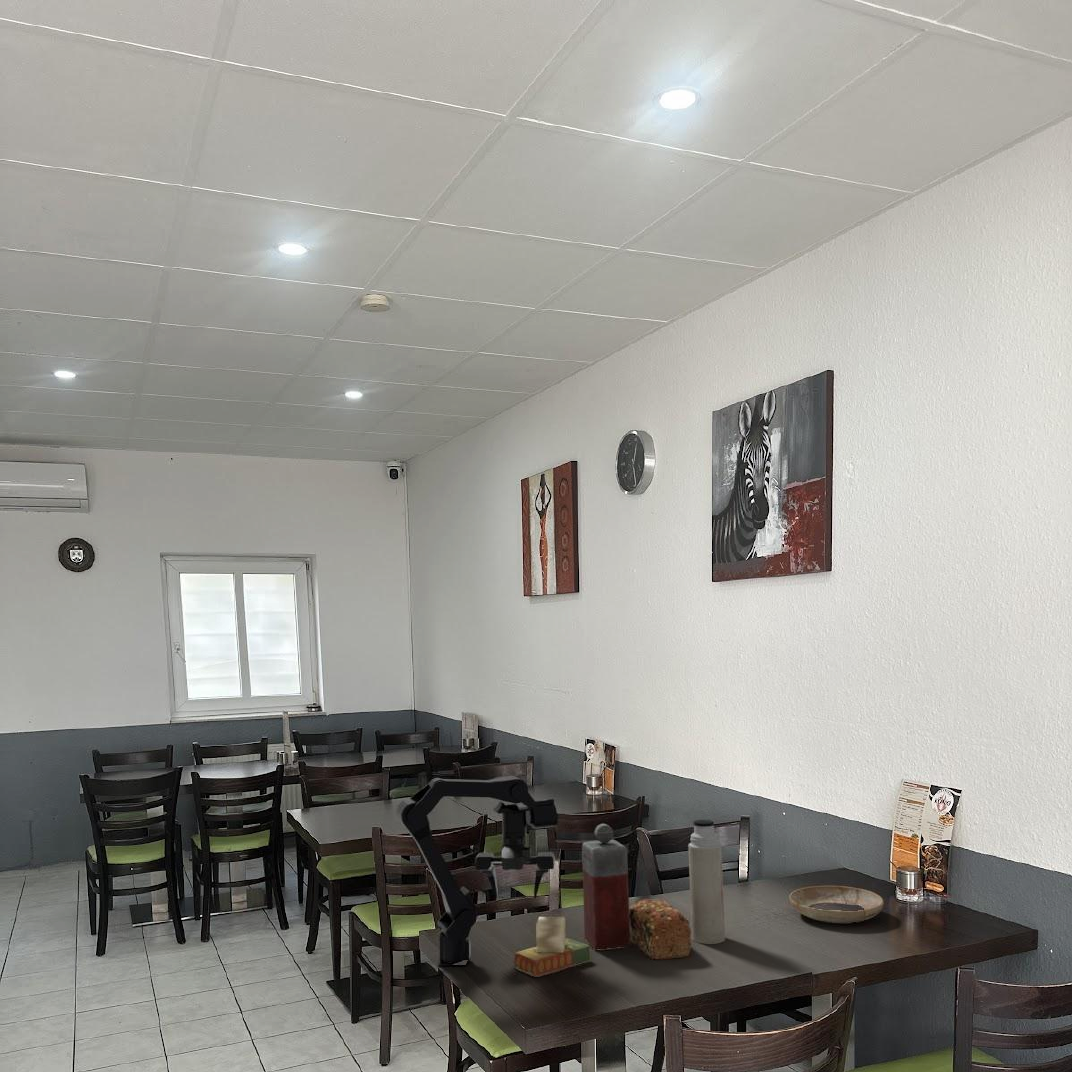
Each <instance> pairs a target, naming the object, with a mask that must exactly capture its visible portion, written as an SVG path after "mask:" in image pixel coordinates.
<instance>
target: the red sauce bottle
mask: <svg viewBox="0 0 1072 1072" xmlns="http://www.w3.org/2000/svg"><path fill="white" fill-rule="evenodd" d="M594 837H595V839H596V840H593V841H592V840H590V841H584V842H582V845H581V853H582V857H581V859H582V860H581V861H582V886H583V888H582V889H583V890H582V891H583V893H582V894H583V899H582V900H583V925H584V926H583V928H584V929H583V930H584V940H585V939H586V940H587V941H588V943H589V944H590V945H591V946H592V947H593V948H594V949H595V950H597V949H607V948H617V947H628V948H631V939H630V922H629V907H630V901H629V900H630V898H629V896H630V894H629V867H628V848H627V847H626V846H625V845H624V844H621V843H620V842H619V841H617V840H615V839H613V837H614V830H613V828H612V827H611V826H609V824H606V823H600V824H598V825H596V827H595V829H594ZM588 943H587V944H588ZM589 944H588V945H589ZM590 945H589V946H590ZM591 946H590V947H591ZM592 947H591V948H592ZM593 948H592V949H593ZM594 949H593V950H594Z"/></svg>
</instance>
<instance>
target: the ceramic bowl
mask: <svg viewBox="0 0 1072 1072" xmlns="http://www.w3.org/2000/svg"><path fill="white" fill-rule="evenodd" d="M788 900H789V902H790V904H791V905H792V907H793V909H795V910H796V911H797V912H799V913H800V914H802V915H803V916H806V917H807V918H810V919H812V920H815V921H820V922H825V923H830V922H831V923H832V924H853V923H852V922H856V923H860V921H861V922H865V921H867V920H869V919H872V918H874V917H876V916H878V914H880V912H881V911H882V910H883V908H884V899H883V897H882V896H880V895H879V894H877V893H875V892H873V891H870V890H867V889H863V888H857V887H851V886H841V885H816V886H807V887H806V886H805V887H802V888H798V889H795V890H794V891H792V892H791V893H790V894H789V899H788ZM830 903H831V904H834V903H835V904H836V903H837V904H844V905H845V904H846V905H859V906H861V907H862V908H864V910H858V911H841V910H822V909H815V908H813V906H815V905H826V904H830ZM864 920H865V921H864Z"/></svg>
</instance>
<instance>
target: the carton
mask: <svg viewBox="0 0 1072 1072" xmlns="http://www.w3.org/2000/svg"><path fill="white" fill-rule="evenodd" d="M513 959H514V960H513V966H515V967H518V968H519V969H521V970H523V971H526V972H530V973H532V974H533V975H535V976H536V975H540V974H543V973H546V972H552V971H555V970H558V969H562V968H564V967H567V966H570V965H574V964H579V963H582V962H585V961H589V960H591V961H592V957H591V946H590V945H589V944H586V943H583V942H581V941H577V940H576V939H575V940H574V939H571V938H568V937H566V945H565V949H564V952H563V953H554V952H537V945H536V946H534V947H530V948H527V949H523V950H520V951H516V952H514V958H513Z"/></svg>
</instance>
